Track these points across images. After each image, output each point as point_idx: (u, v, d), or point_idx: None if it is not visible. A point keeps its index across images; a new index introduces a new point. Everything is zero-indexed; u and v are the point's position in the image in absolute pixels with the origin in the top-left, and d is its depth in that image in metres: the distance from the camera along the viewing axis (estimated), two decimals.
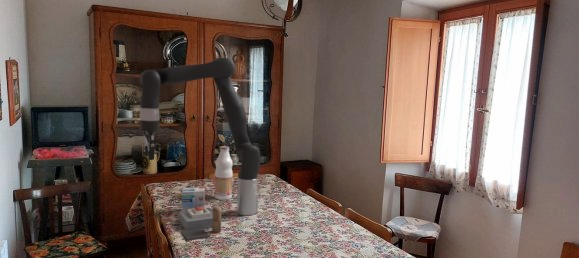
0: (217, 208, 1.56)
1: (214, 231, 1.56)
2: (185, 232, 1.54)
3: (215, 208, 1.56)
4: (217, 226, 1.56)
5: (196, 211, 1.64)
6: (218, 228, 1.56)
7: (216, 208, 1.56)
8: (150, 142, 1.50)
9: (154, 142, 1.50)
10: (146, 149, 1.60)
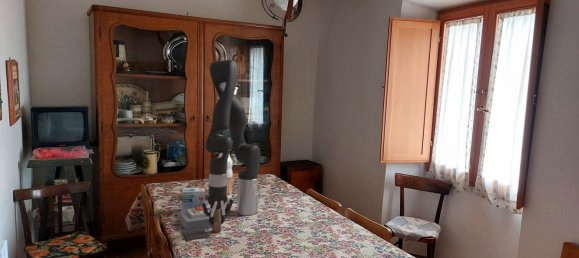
0: (218, 208, 1.56)
1: (214, 231, 1.56)
2: (185, 232, 1.54)
3: None
4: (217, 226, 1.56)
5: (196, 211, 1.64)
6: (218, 228, 1.56)
7: (216, 208, 1.56)
8: None
9: None
10: None
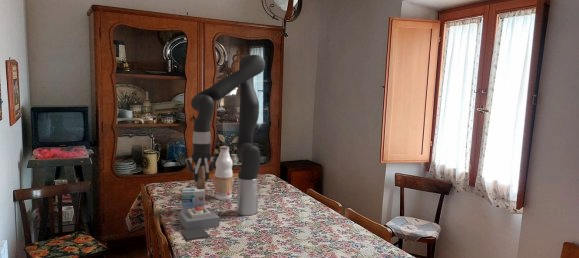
0: (202, 166, 1.62)
1: (198, 187, 1.62)
2: (185, 232, 1.54)
3: None
4: (201, 183, 1.62)
5: (196, 211, 1.64)
6: (202, 185, 1.62)
7: None
8: None
9: None
10: None
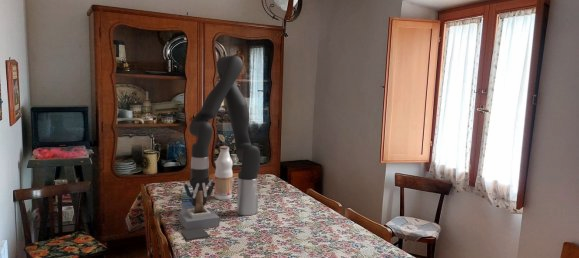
0: (199, 190, 1.64)
1: (196, 212, 1.64)
2: (185, 232, 1.54)
3: (197, 190, 1.64)
4: (199, 207, 1.64)
5: None
6: (200, 209, 1.64)
7: (198, 190, 1.64)
8: None
9: None
10: None
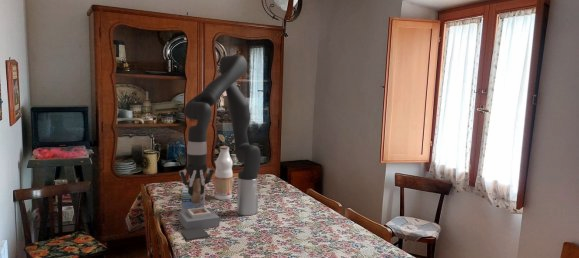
0: (197, 178, 1.50)
1: (193, 202, 1.50)
2: (185, 232, 1.54)
3: (194, 178, 1.50)
4: (196, 196, 1.50)
5: None
6: (197, 198, 1.50)
7: (195, 178, 1.50)
8: None
9: None
10: None
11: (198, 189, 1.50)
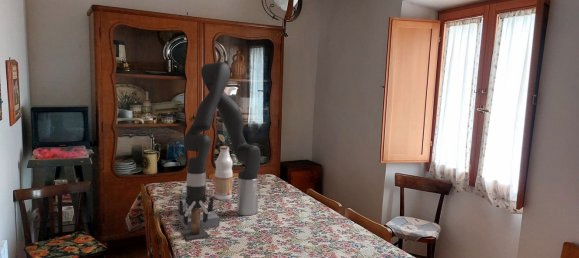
0: (196, 210, 1.51)
1: (193, 233, 1.52)
2: (185, 232, 1.54)
3: (193, 209, 1.52)
4: (196, 228, 1.51)
5: None
6: (197, 230, 1.52)
7: (194, 209, 1.52)
8: None
9: None
10: None
11: (197, 220, 1.51)
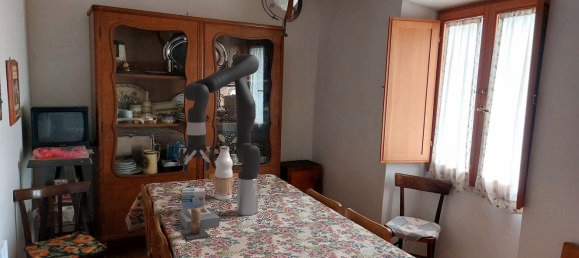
0: (196, 210, 1.51)
1: (193, 233, 1.52)
2: (185, 232, 1.54)
3: (194, 209, 1.52)
4: (196, 228, 1.51)
5: None
6: (197, 230, 1.52)
7: (195, 209, 1.52)
8: None
9: None
10: None
11: (198, 221, 1.51)
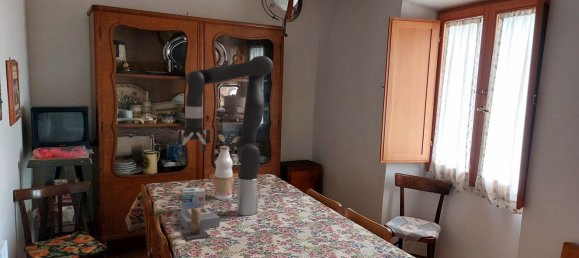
0: (196, 210, 1.51)
1: (193, 233, 1.52)
2: (185, 232, 1.54)
3: (194, 209, 1.52)
4: (196, 228, 1.51)
5: None
6: (197, 230, 1.52)
7: (195, 209, 1.52)
8: None
9: None
10: None
11: (197, 221, 1.51)
